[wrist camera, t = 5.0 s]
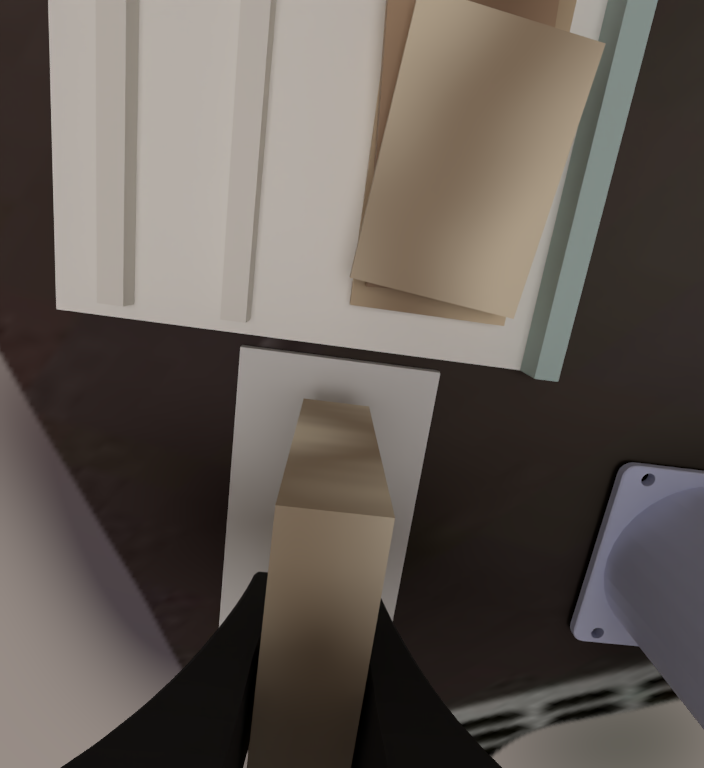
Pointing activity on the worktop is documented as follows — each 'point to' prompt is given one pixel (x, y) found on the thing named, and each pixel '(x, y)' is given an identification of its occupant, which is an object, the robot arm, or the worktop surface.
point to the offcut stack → (467, 152)
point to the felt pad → (275, 434)
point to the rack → (282, 173)
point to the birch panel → (321, 591)
